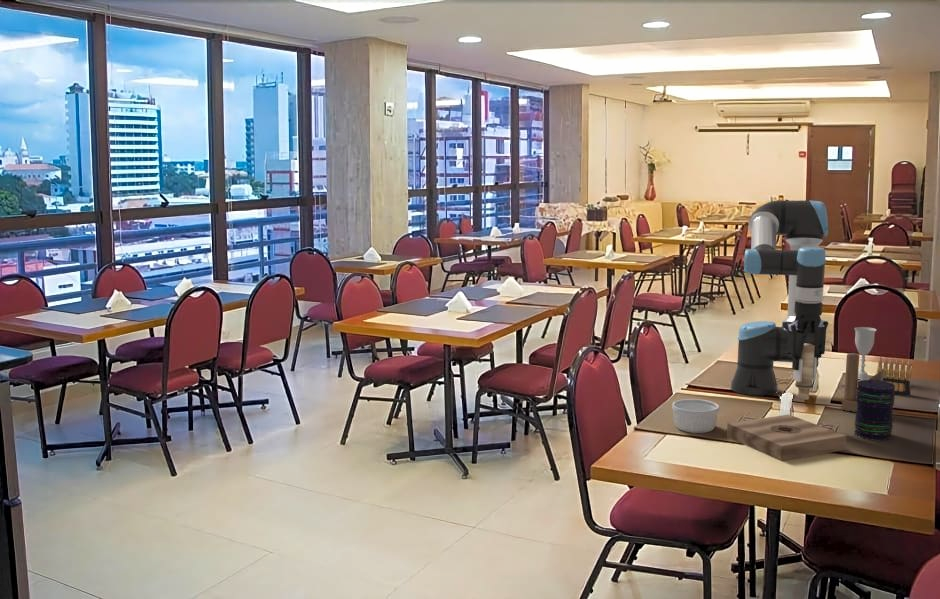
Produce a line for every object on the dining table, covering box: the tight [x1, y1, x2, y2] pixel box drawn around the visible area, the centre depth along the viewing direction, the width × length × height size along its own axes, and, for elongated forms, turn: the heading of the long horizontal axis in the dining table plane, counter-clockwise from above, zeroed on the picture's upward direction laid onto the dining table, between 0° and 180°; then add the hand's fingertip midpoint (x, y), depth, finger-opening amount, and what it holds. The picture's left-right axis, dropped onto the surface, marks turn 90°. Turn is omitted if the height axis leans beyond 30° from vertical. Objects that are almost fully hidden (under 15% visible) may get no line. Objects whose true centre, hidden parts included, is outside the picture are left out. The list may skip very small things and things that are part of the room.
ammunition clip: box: [876, 356, 912, 396], centre depth 301 cm, size 11×2×12 cm, turn 56°
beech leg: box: [794, 343, 815, 401], centre depth 264 cm, size 5×5×16 cm
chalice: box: [853, 326, 877, 381], centre depth 320 cm, size 7×7×18 cm
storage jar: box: [854, 380, 896, 441], centre depth 256 cm, size 10×10×15 cm
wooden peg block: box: [841, 352, 884, 413], centre depth 278 cm, size 4×11×18 cm, turn 53°
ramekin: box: [671, 398, 720, 434], centre depth 264 cm, size 13×13×7 cm
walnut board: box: [726, 414, 847, 462], centre depth 250 cm, size 22×22×4 cm
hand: (804, 379), depth 264 cm, fingers closed on beech leg, 4 cm apart
